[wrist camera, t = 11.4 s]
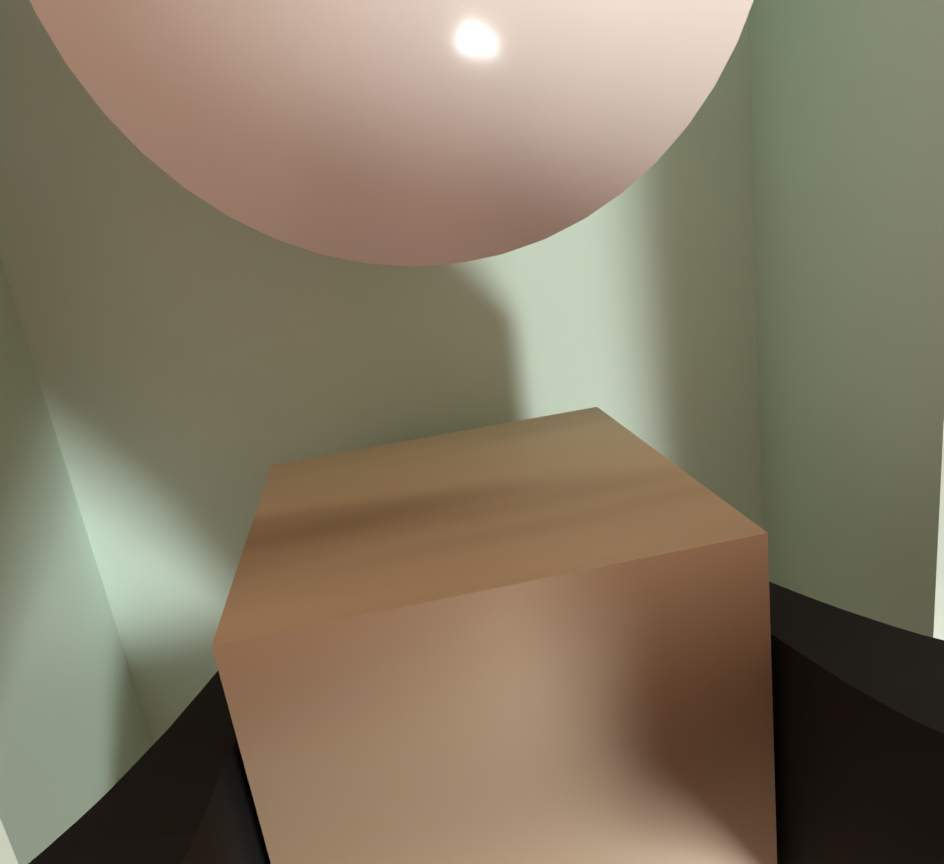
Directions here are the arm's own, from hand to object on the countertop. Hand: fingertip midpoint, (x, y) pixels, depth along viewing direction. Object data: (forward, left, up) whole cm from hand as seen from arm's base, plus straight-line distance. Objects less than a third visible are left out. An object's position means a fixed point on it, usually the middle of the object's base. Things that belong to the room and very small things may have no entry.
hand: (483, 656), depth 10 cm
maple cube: (0, 0, -2) cm, 2 cm away
